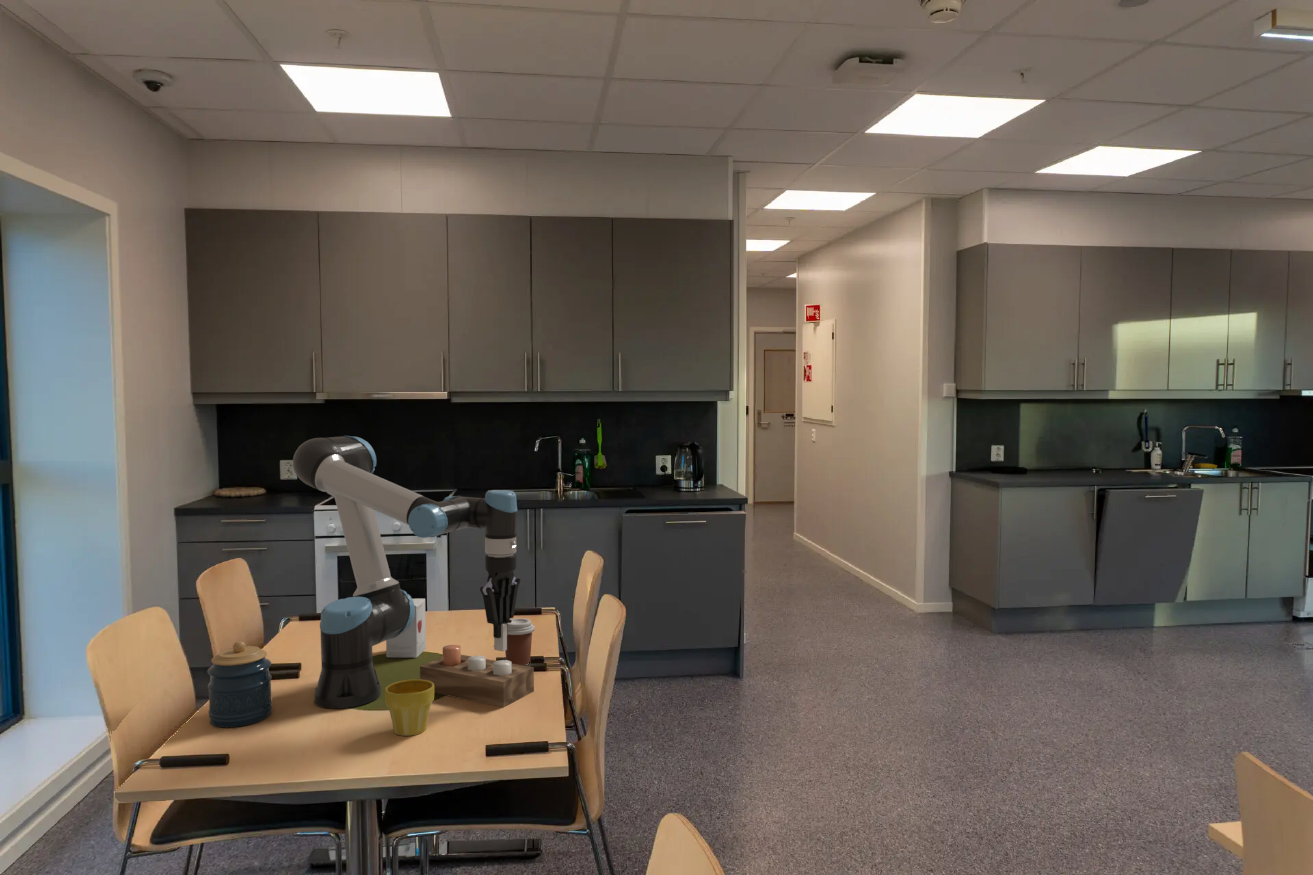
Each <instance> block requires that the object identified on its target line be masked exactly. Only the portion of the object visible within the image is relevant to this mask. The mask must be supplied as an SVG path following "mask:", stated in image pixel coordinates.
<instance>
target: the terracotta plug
mask: <svg viewBox="0 0 1313 875" xmlns="http://www.w3.org/2000/svg"><path fill="white" fill-rule="evenodd" d="M461 655H462V653H461V645H459V644H448V645H444V646H443V647H442V657H443V665H446V666H451V667H454V666H456V665H458V664H461Z"/></svg>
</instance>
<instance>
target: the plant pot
mask: <svg viewBox="0 0 1313 875" xmlns="http://www.w3.org/2000/svg"><path fill="white" fill-rule="evenodd" d="M434 699H435V693H434V684H433V682H431V681H428V680H422V679H420V678H415V679H414V678H411V679H404V680H399V681H396V682H392V683H390V684H387V686H386V687H385V688H384V703H385V706H386V707H388V710H389V715H390V718H391V719H390V720H391V723H392V728H393V731H394V733H395V734H396V735H398V736H403V737H410V736H411V737H412V736H416V735H419V734H421V733H423V732H425V730H426V729H427V724H428V718H429V714H430V710H431V705H432V703H433V701H434Z"/></svg>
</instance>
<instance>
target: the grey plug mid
mask: <svg viewBox="0 0 1313 875" xmlns="http://www.w3.org/2000/svg"><path fill="white" fill-rule="evenodd" d="M486 659H487V658H486V656H484V655H472V657H469V658H468V670H472V671H481V670H483V669H485V668H486Z"/></svg>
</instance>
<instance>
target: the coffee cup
mask: <svg viewBox="0 0 1313 875" xmlns="http://www.w3.org/2000/svg"><path fill="white" fill-rule="evenodd" d="M509 620H512V622H511V623H508V633H507V650H505V651H504V652H505V660H508V661H511V663H512V664H518V665H523V666H524V665H528V664H529V662H530V663H531V655H532V654H531V653H532V639H533V632H535V628H536V626H535V625H534V624H532V621H531V619H529V618H523V617H518V618H517V617H516V618H510V619H509Z"/></svg>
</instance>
